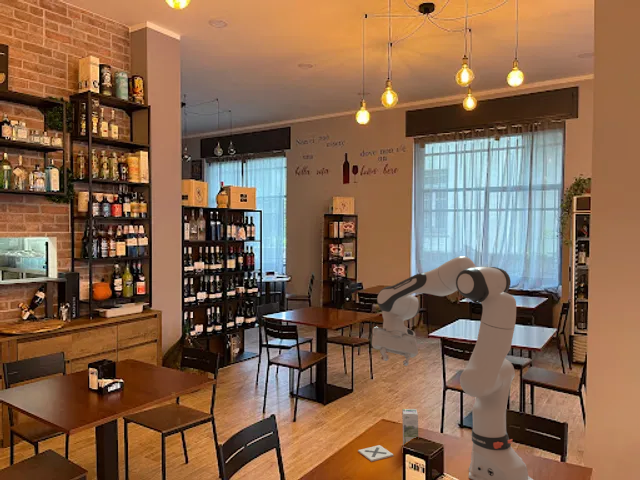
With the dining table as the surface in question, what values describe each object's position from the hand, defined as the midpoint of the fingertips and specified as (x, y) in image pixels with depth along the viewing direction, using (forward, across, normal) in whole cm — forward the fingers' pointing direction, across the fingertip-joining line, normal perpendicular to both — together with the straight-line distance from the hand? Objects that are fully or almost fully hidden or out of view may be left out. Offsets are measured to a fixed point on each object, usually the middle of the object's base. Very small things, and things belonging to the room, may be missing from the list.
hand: (396, 362), depth 196 cm
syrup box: (+28, +13, +14) cm, 34 cm away
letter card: (+31, -1, +16) cm, 35 cm away
